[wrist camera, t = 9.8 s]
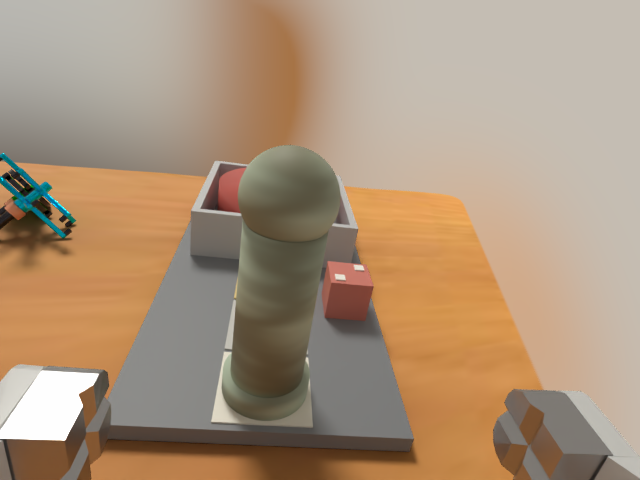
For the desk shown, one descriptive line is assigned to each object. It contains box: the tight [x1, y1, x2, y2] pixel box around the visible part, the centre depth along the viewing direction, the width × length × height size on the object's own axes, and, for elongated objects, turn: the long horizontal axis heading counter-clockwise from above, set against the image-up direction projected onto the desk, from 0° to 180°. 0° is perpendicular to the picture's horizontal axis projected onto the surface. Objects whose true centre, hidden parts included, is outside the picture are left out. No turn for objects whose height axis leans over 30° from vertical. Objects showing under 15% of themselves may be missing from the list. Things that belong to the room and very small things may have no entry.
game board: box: [107, 161, 414, 452], centre depth 35 cm, size 16×31×5 cm, turn 4°
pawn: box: [222, 145, 341, 421], centre depth 22 cm, size 5×5×14 cm
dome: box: [217, 168, 246, 213], centre depth 42 cm, size 11×11×6 cm
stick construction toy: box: [0, 153, 76, 239], centre depth 38 cm, size 12×7×8 cm
